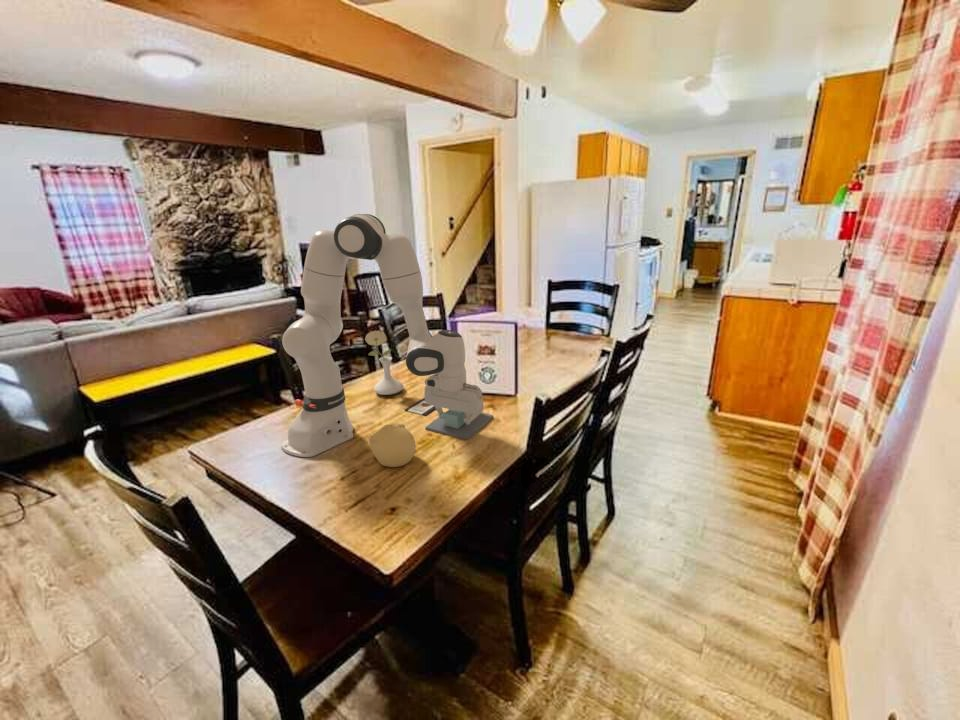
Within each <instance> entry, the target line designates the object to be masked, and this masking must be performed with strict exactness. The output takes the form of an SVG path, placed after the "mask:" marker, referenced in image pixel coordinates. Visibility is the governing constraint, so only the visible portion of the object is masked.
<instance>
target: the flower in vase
mask: <svg viewBox="0 0 960 720" xmlns="http://www.w3.org/2000/svg"><path fill="white" fill-rule="evenodd" d="M364 340H365V342H366V343H367V345H370V346H374V347H376V350H377V351H376V350H371V351H370V352H369V353H368V354H367V356H374V357H376V356H378V355H380V356H381V357H380V358H379V359H378V361H380V363H381V365H382V368H383V372H384V373H383V374H384V375H383V377H382V378H381V379H380V380H379V381H378V382H377V383H376V384H375V386H374V387H373V391H374V392H375V393H376V394H377V395H384V396H387V395H389V396H390V395H395V394H397V393H399V392H401V391H402V390H403V388H404V385H403V383H402V382H401V380H398V379H396V378H395V377H393V376H392V375H391V367H390V366H391V363H392V362H391V361H392V360H393V357H391V356H387V355H389V354H390V353H391V352H392V348H390V349H388V350H385V351H384V352H383V354H382V353H380V351H379V346H380V345H383V344H385V343H386V341H387V335H386V334H385V333H384V332H383V331H380V330H374V331H373V330H371V331H370V332H368V333H367V334H366V335H365V338H364Z"/></svg>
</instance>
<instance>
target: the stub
mask: <svg viewBox="0 0 960 720" xmlns="http://www.w3.org/2000/svg"><path fill="white" fill-rule="evenodd" d="M444 412H445V413H444V421H445V426H448V427H452V428H456V429H458V428H460V427H461V426H462V425H463V424H464V412H460V411H456V410H451V409H448V410H446V411H444Z"/></svg>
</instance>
